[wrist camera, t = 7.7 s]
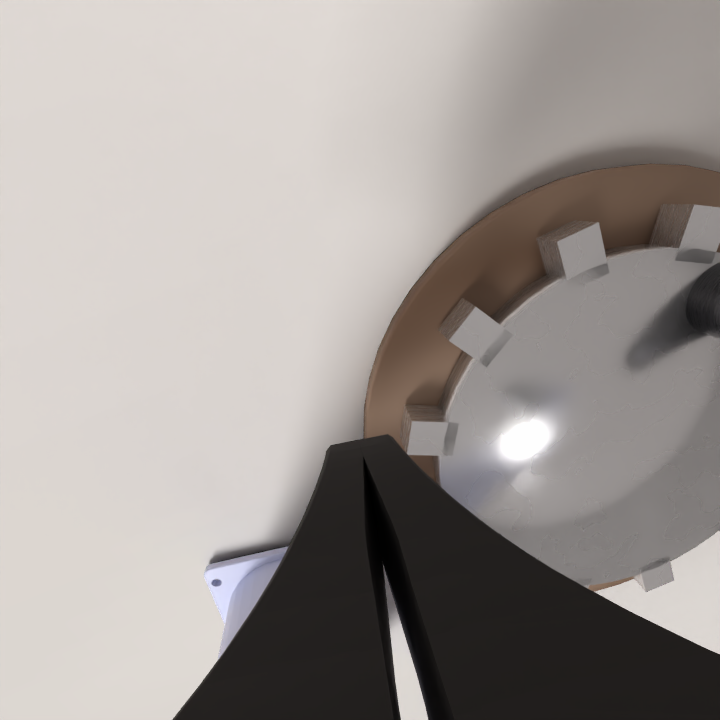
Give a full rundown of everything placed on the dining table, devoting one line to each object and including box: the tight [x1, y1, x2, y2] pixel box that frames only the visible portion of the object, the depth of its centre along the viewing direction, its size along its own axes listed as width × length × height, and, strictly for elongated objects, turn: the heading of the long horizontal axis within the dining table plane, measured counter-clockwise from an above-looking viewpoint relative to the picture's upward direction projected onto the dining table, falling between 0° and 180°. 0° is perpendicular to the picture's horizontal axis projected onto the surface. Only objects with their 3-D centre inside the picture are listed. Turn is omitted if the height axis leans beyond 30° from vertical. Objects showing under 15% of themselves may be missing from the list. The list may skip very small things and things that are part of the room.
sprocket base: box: [364, 164, 720, 592], centre depth 20 cm, size 23×23×3 cm
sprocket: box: [400, 204, 720, 592], centre depth 18 cm, size 20×20×6 cm
